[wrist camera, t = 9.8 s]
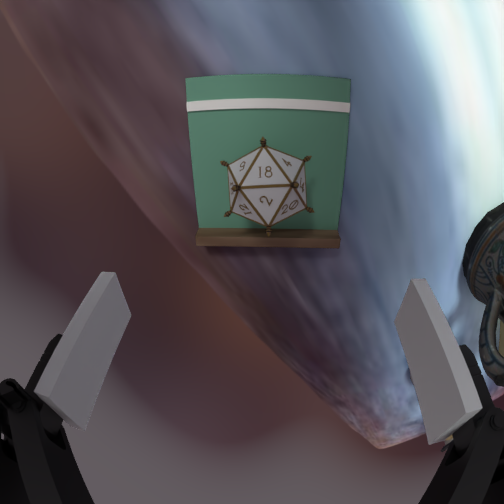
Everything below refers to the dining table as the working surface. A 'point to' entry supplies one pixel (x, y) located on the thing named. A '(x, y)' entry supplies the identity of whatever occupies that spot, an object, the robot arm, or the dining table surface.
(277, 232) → the walnut backstop rail
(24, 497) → the robot arm
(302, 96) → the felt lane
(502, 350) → the seated figure statue
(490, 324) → the beer stein
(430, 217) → the dining table surface
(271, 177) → the game die
